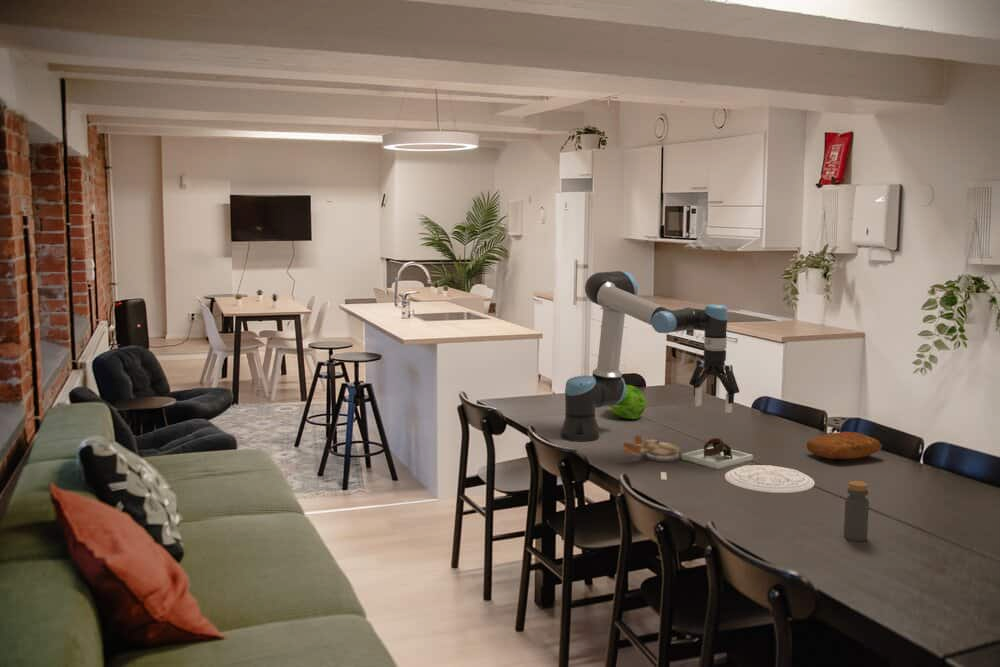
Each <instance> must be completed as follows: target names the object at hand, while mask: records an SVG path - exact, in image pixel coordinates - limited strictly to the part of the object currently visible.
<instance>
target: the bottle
mask: <svg viewBox="0 0 1000 667" xmlns="http://www.w3.org/2000/svg"><path fill="white" fill-rule="evenodd" d="M868 485H869V484H868V483H866V482H865V481H861V480H860V481H859V480H851V481H848V488H847V491H846V493H847V494H848V496H846V497H845V501H844V503H845V504H844V523H843V537H844V538H845V539H846V540H849V541H853V542H865V541H866V540H868V531H869V530H868V529H869V508H870V501H869V499H868V498H867V497H866V496H868V495H869V490H868V489H867V488H868Z"/></svg>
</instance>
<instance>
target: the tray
mask: <svg viewBox="0 0 1000 667" xmlns="http://www.w3.org/2000/svg"><path fill="white" fill-rule="evenodd" d="M712 448H714V447H713V446H711V447H707V449H712ZM730 449H731V452H732V457H733V459H731V456H724V453H723V451H722V452H721V453H720V454H721V455H719V454H716V455H713V456H706V458H705V457H704V448H701V449H697V450H693V451H687V452H685V453H681V460H682V461H686V462H690V463H693V464H697V465H700V466H703V467H707V468H710V469H714V470H720V469H724V468H725V469H726V468H729V467H733V466H736V465H740V464H745V463H748V462H753V461H754V454H751V453H747V452H742V451H739V450H735V449H732V448H730ZM752 460H753V461H752Z"/></svg>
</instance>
